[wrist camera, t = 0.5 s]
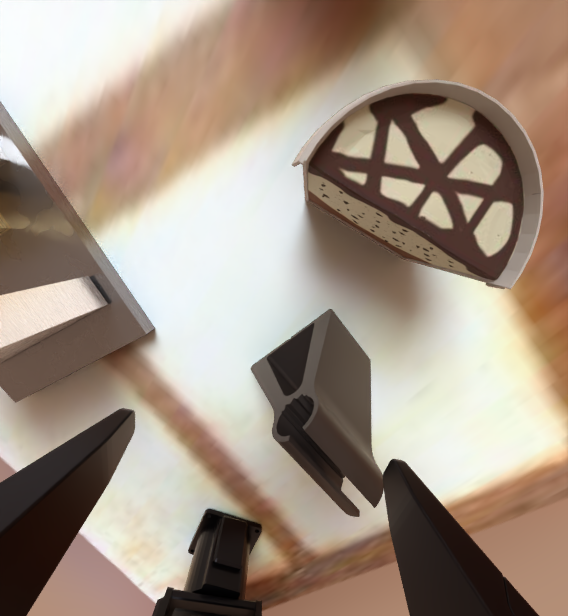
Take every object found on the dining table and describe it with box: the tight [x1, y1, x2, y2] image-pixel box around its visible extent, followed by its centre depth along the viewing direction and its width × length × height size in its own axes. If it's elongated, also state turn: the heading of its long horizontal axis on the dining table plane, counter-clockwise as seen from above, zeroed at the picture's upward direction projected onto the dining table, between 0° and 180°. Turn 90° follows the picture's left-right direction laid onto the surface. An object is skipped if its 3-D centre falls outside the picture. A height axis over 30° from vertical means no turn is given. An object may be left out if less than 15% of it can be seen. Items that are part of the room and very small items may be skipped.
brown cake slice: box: [292, 79, 543, 289], centre depth 16 cm, size 12×6×10 cm, turn 61°
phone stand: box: [251, 309, 384, 517], centre depth 19 cm, size 9×6×12 cm, turn 128°
